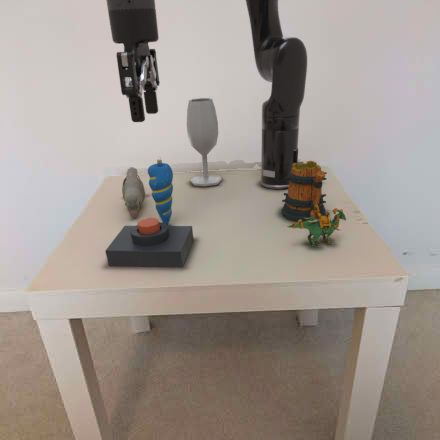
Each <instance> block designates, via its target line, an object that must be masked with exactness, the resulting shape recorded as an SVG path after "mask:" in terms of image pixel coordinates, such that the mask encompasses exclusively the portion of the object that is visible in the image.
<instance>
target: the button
mask: <svg viewBox="0 0 440 440" xmlns="http://www.w3.org/2000/svg"><path fill="white" fill-rule="evenodd" d="M159 222H160V220H159V218H153V217H148V218H147V217H146V218H143V219H140V220H138V221H137V223H136V225H138V230H139V233H141V234H152V233H156V232H158V231H160V224H159Z"/></svg>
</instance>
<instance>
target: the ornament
mask: <svg viewBox="0 0 440 440" xmlns="http://www.w3.org/2000/svg"><path fill="white" fill-rule="evenodd" d="M159 158H160V159H157V160H156V163H154V164H151V165H149V167H148V168H147V175H148V177H149V180H148V186H149V188H150V189H151V191H152V192H151V197H152V199H153V201H154V203H155V210H156V212H157V214H158V216H159V218H160V221H161V222H162V223H165V224H166V225H167V226H169V223H170V222H171V221H170V220H171V218H172V215H173V209H172V205H173V196H172V195H173V191H174V185H173V179H174V173H173V169H172V167H171V165H169V163H166V162H163V160H162V158H161V156H159Z"/></svg>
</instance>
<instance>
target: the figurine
mask: <svg viewBox="0 0 440 440" xmlns="http://www.w3.org/2000/svg"><path fill="white" fill-rule="evenodd" d="M316 208H317V210H316ZM314 209H315V211H313V212H314V214H315V215H316V216H315V217H310V218H305V219H310V220H308V221H305V222H302V220H299V221H298V222H297V223H296V222H295V221H292V222H291V224H289V225H287V226H286V228H290V229H303V230H304V229H305V230H308V232H309V234H308V235H307V240H308V242H307V243H308V245H309V244H311V248H313V247H314V248H319V245H318V244H316V243H315V242H316V241H317V240H319V239H320V238H321V236H322V238H323V239H324V241H325V242H326V243H327V244H328V245H333V242H331V241H330V237H331V236H332V234H333V233H334V232H335V231H342V230H343V228H342V229H341V228H339V227H340V221H341V220H343V221H346V220H347V218H346V214H345V212H344V209H342V208H341V209H338V207H334V209H332V210H331V211H332V213H333V215H334V216H333V218H332V220H331V218H330V215H331V212H330V211H326V212H325V216H321V214H320V213H319V207H318V205H316V204H315V205H314Z"/></svg>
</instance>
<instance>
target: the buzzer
mask: <svg viewBox="0 0 440 440" xmlns="http://www.w3.org/2000/svg"><path fill="white" fill-rule="evenodd" d="M159 224H160V231H158V232H156V233H152V234H141V233H139V230H138V225H137V224H136V225H124V226H123V227H122V229H121V230H120V231H119V232H118V234H117V235H116V236H115V237H114V239H113V240H112V241H111V243H110V244H108V246H107V248H106V249H105V251H104V252H105V256H106V260H107V264H108V266H109V267H147V268H149V267H150V268H151V267H152V268H155V267H156V268H183V267H184V265H185V262H186V260H187V258H188V255H189V253H190V250H191V248H192V245H193V243H194V229H193V225H168V226H167V225H166V224H165V223H163V222H162V221H159Z"/></svg>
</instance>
